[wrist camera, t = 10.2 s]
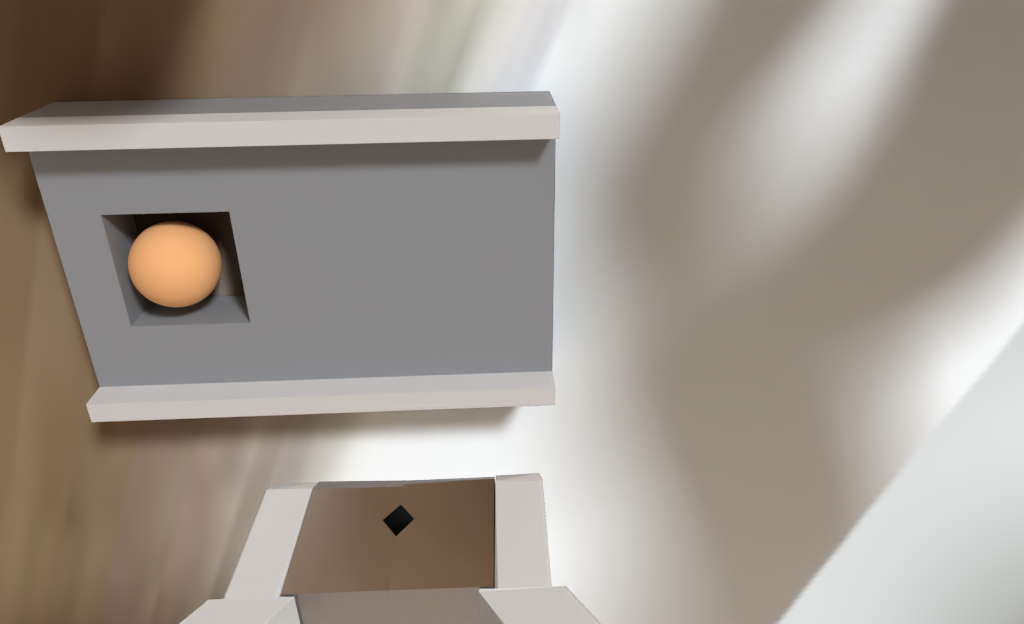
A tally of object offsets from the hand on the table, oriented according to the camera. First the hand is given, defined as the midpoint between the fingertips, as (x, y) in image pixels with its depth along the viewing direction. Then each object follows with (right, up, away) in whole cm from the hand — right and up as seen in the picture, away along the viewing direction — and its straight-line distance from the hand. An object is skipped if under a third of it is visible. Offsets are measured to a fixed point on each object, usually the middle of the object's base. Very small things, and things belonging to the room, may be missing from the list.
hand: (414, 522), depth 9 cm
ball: (-14, +5, +27) cm, 31 cm away
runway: (-8, +6, +29) cm, 31 cm away
